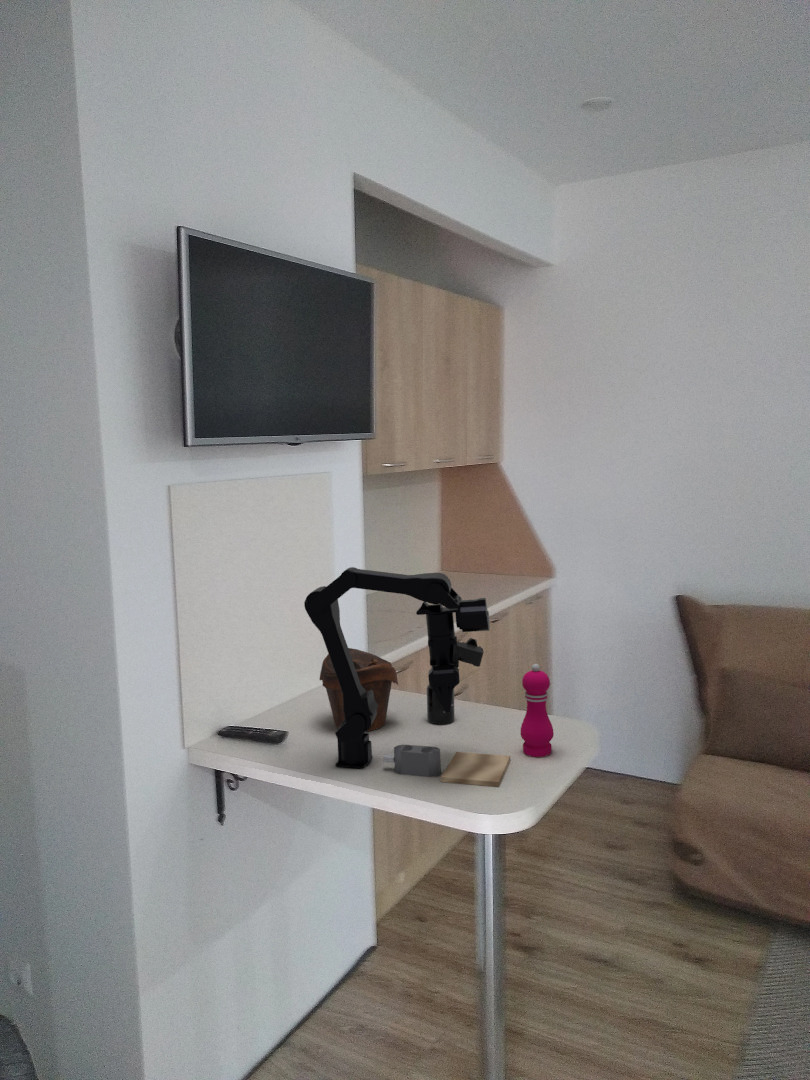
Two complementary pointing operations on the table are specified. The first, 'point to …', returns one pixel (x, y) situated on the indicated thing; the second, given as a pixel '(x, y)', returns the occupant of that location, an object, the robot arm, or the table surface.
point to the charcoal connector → (415, 760)
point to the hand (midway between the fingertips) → (447, 704)
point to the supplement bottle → (438, 709)
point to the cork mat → (476, 769)
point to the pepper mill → (536, 714)
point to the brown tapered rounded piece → (371, 676)
